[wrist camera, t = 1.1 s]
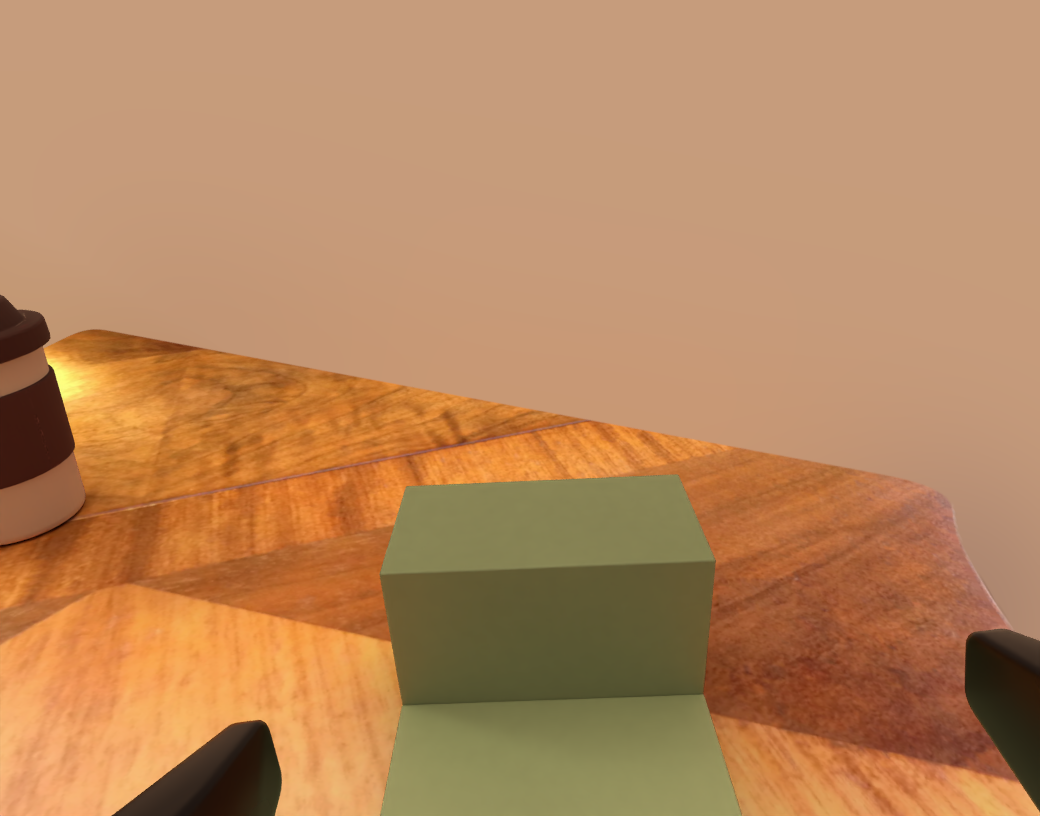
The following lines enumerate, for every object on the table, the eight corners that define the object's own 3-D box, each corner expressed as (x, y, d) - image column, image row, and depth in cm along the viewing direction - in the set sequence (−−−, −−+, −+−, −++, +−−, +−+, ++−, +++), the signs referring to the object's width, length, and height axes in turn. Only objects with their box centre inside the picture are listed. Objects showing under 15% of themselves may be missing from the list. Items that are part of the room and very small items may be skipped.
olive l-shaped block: (825, 1173, 16) (896, 971, 12) (333, 1183, 16) (252, 988, 12) (669, 630, 32) (678, 473, 28) (428, 640, 32) (405, 485, 29)
